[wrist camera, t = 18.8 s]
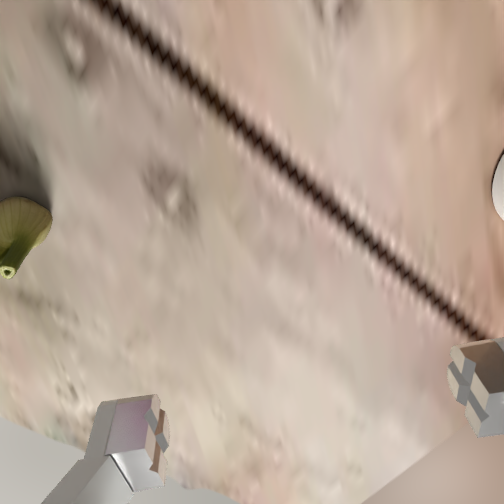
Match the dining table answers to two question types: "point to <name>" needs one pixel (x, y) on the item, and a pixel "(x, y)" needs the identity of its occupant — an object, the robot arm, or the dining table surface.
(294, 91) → the dining table surface
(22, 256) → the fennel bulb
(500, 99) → the dining table surface
